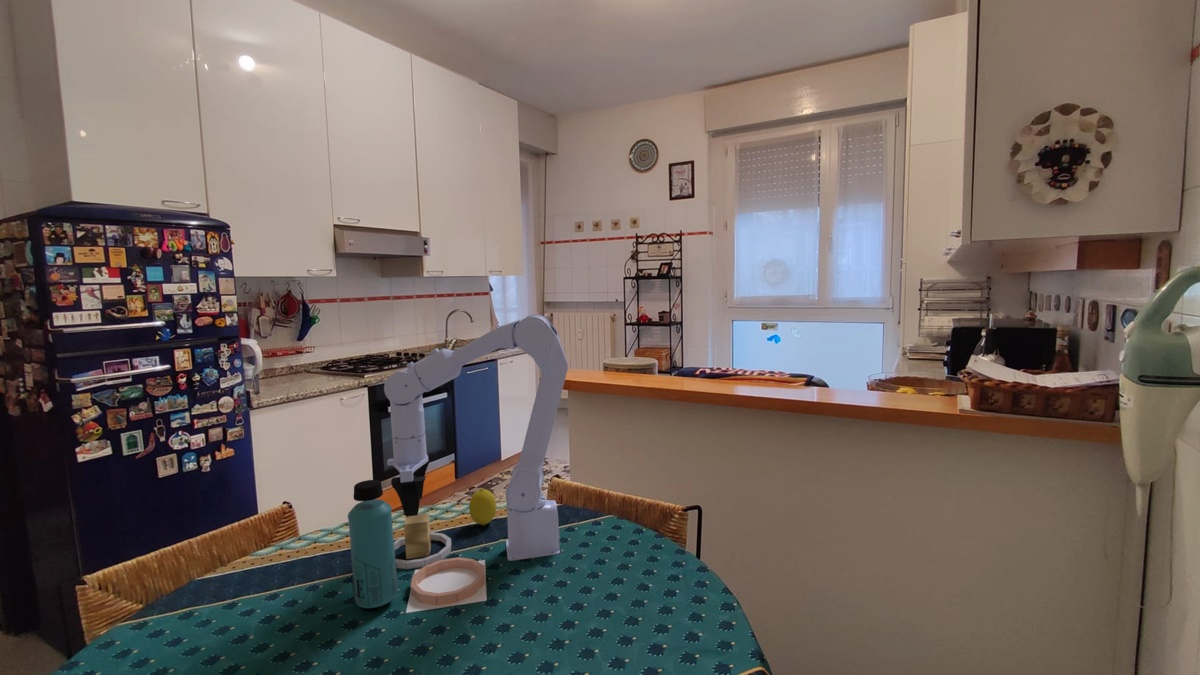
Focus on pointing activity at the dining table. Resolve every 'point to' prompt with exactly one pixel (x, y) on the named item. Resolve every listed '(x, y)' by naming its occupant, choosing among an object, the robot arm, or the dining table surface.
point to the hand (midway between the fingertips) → (413, 506)
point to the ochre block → (417, 536)
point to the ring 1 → (428, 560)
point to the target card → (448, 587)
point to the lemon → (482, 506)
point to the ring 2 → (452, 595)
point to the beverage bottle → (372, 547)
